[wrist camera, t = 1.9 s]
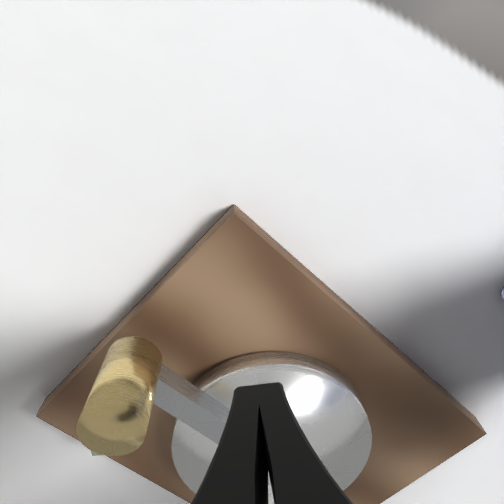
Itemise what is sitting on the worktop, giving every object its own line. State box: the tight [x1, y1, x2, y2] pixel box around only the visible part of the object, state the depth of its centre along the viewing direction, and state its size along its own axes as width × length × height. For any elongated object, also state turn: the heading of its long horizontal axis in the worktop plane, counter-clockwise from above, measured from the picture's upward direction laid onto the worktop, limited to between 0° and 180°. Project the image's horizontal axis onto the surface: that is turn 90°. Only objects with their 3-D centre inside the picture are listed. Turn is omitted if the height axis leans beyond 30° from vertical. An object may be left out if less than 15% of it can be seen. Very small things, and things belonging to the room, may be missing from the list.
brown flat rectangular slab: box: [36, 205, 486, 504], centre depth 23 cm, size 15×19×2 cm
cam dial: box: [76, 336, 372, 504], centre depth 20 cm, size 15×10×5 cm
